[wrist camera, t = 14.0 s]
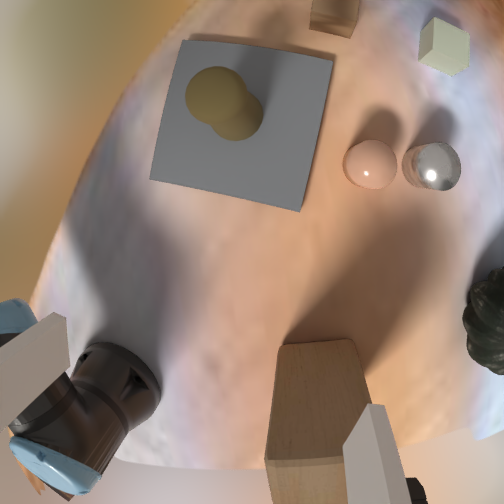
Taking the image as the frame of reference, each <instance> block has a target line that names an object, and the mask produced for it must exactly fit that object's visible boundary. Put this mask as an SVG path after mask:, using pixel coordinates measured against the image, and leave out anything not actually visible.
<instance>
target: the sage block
mask: <svg viewBox="0 0 504 504" xmlns="http://www.w3.org/2000/svg"><path fill="white" fill-rule="evenodd" d="M469 51H470V34H468V33H467V32H465V31H463V30H461V29H459V28H457V27H455V26H453V25H451V24H449V23H447V22H445V21H443V20H440V19H438V18H436V17H433V18H432V20H431V21H430V22H429V23H428V24H427V25H426V26H425V27H424V28H423V29H422V30H421V32H420V45H419V56H418V62H420V63H422V64H424V65H427V66H429V67H431V68H434V69H436V70H438V71H440V72H443V73H445V74H447V75H449V76H451V77H452V76H453V75H455V74H457V73H459V72H460V71H462V70H464V69H466V68H467V67H469Z"/></svg>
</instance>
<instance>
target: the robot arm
mask: <svg viewBox="0 0 504 504" xmlns="http://www.w3.org/2000/svg"><path fill="white" fill-rule="evenodd" d="M69 367H70V359H69V349H68V339H67V326H66V317H63V316H61V315H59V314H57V313H55V312H53V313H52V314H50V315H48V316H47V317H45V318H44V319H42V320H41V321H39V322H38V321H37V319H36V317H35V315H34V313H33V312H32V310H31V308H30V306H29V304H28V303H27V302H26V301H24V300H22V299H20V298H14V299H10V300H7V301H4V302H1V303H0V433H1V431H3V430H4V429H5V428H6V427H7V426H8V427H9V428H10V429H11V431H12V432H13V434H14V436H13V437H11V439H10V443H9V446H10V449H11V450H12V452H13V454H14V455H15V457H16V458H17V459H18V460H19V461H20V462H21V463H22V464H23V465H24V466H25V467H26V468H27V469H28V470H30V471H31V472H32V473H33V474H35V475H36V476H37V477H39V478H40V479H42V480H43V481H45V482H46V483H48V484H50V485H51V486H53V487H55V488H57V489H59V490H61V491H64V492H66V493H69V494H73V495H85V494H87V493H89V492H90V491H91V489H92V488H93V486H94V485H95V484H96V483H97V481H98V480H100V479H101V477H102V474H103V472H104V471H105V469H106V468H107V466H108V464H109V462H110V461H111V459H112V458H113V456H114V454H115V453H116V451H117V449H118V448H119V446H120V445H121V443H122V441H123V440H124V438H125V437H126V435H127V434H128V432H129V431H131V430H132V429H134V428H135V427H137V426H138V425H140V424H141V423H143V422H144V421H145V420H147V419H148V418H150V417H151V415H152V414H153V413H154V411H155V410H156V408H157V406H158V404H159V401H160V390H159V386H158V383H157V381H156V379H155V377H154V375H153V374H152V372H151V371H150V369H149V368H148V367H147V366H146V365H145V364H144V363H143V362H142V361H141V360H140V359H139V358H138V357H137V356H135V355H134V354H133V353H131V352H130V351H128V350H126V349H125V348H123V347H120V346H118V345H115V344H111V343H96V344H93V345H91V346H90V347H88V348H87V349H86V350H85V351H84V352H83V353H82V354H81V355H80V357H79V358H78V360H77V363H76V365H75V368H74V370H73V372H72V375H71V377H70V378H69V377H68V375H67V374H66V372H65V371H66V370H67V369H68V368H69ZM343 455H344V465H345V475H346V485H347V496H348V504H428V502H427V501H426V499H427V498H426V495H425V491H424V488H423V486H422V485H421V484H420V482H419V481H418V480H417V478H405V475H404V471H403V467H402V464H401V460H400V456H399V453H398V449H397V446H396V442H395V439H394V435H393V432H392V429H391V425H390V422H389V419H388V416H387V412H386V409H385V406H384V405H377V404H369V403H368V404H367V406H366V408H365V409H364V411H363V413H362V415H361V416H360V418H359V420H358V422H357V423H356V425H355V427H354V428H353V430H352V432H351V433H350V435H349V437H348V438H347V440H346V441H345V443H344V445H343Z"/></svg>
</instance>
